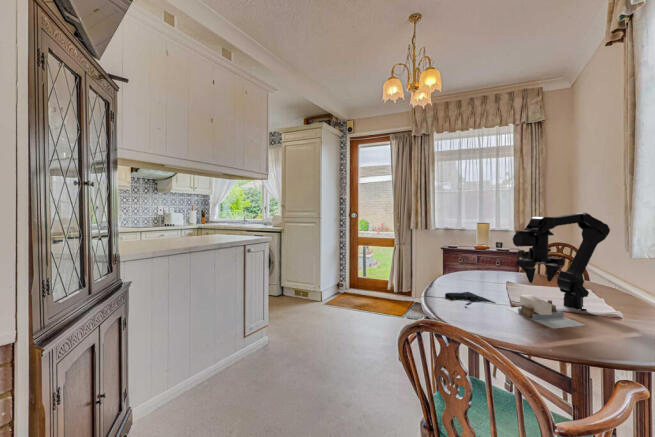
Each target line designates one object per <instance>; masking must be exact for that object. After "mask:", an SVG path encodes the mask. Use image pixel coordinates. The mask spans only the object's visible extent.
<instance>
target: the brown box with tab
mask: <svg viewBox="0 0 655 437" xmlns="http://www.w3.org/2000/svg"><path fill="white" fill-rule="evenodd" d="M547 302H548V303H550V304H552V312H556V309H557V305H555V304H553V300H550V299H549V300H547ZM520 307H521V316H522V315H523V317H525V316H526V317H525V318H527V317H528V318H527V319H529V318H532V314H536V312H534V311H533V308H532V307H530V306H527V305H520Z"/></svg>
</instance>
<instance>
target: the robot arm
mask: <svg viewBox="0 0 655 437" xmlns="http://www.w3.org/2000/svg"><path fill="white" fill-rule="evenodd" d="M571 224H577V226H578V228H579V229H581V230H582V231H581V237H582V240H581V242H580V245H579V247H578V249H577V252H576V253H575V255H574V257H573V259H572V261H571V264H570V265H569V268H568V269H566V270H565V271H563V270H561V271H560V272H559V274H558V276H557V277H556V284H557V287H559V291H560V292H562V293H563V306H565V307H567V308H572V309H574V310H575V309H576V310H578V309H582V307H583V308H584V298H587V297H588V296H589V293H590V292H589V291H588V290H587V288H586V287H585V286H584V284H585V280H584V275H583V274H584V272H585V270H586V269H587V266H588V265H589V262H590V260H591V257H592V256H593V254H594V251H595V250H596V248H597V246H598V244H600V243H601V242H603V241H604V240H606V238H607V237H608V235H609V234H610V232H611V228H610V226H609V225H608V224H607V223H605V222H603V221H602V220H599V219H598V218H595V217H593V216H592V215H590V214H589V213H587V212H576V213H572V214H564V215H558V216H533V217H531V219H530V220H529V222H528V224H527V225H526V227H525V228H524V229H523V230H516V231H515V234H514V235H513V237H512V243H513V245H514V246H515V247H529V248H528V251H525V250H524V249H523V250H522V249H521V250H517V257H518V259H517V260H516V262H515V263H516V264H515V265H516V266H518V267H519V268H521V269H522V270H523V271H524V273H525V275H526V278H527V281H528V282H529V284H532V283H533V281H534V278H535V274H536V269H537V268H536V267H535V266H539V265H544V266H545V268H546V278H547V280H546V281H547V282H551V281H552V280H553V279H554V276H556V274H557V272H558V271H559V270H560V269H561V268H563V267H562V266H565V260H564V259H563V258H560V257H554V256H549V252H552V248H549V236H554V235H555V234H554V233H553V232H551V230H553V229H554V228H556V227H559V226H565V225H571Z"/></svg>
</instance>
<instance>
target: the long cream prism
mask: <svg viewBox="0 0 655 437" xmlns="http://www.w3.org/2000/svg"><path fill="white" fill-rule="evenodd" d="M519 297H520V298H519V304H520V306H521V305H527V306H530V307H532V308H533V311H534V312H536V313H538V314H540V315H552V304H553V303H552V304H550V303H548V301H546V300H542V299H540V298H537V297H535V296H534V295H531V294H520V295H519Z"/></svg>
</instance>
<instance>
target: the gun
mask: <svg viewBox="0 0 655 437" xmlns="http://www.w3.org/2000/svg"><path fill="white" fill-rule="evenodd" d="M444 295H445V298H446V299H448V300H451V301H452V300H466V301H469V302H467V303H465V304H464V305H465V306H464V308H466V309H469V306H470V305H472V304H473V303H482V302H483V303H492V304H496V303H497V302H495V301H494V300H493V301H492V300H491V299H488V298H486V297H483V296H479V295H477V294H475V293H473V292H470V291H464V292H446V293H445V294H444Z"/></svg>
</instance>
